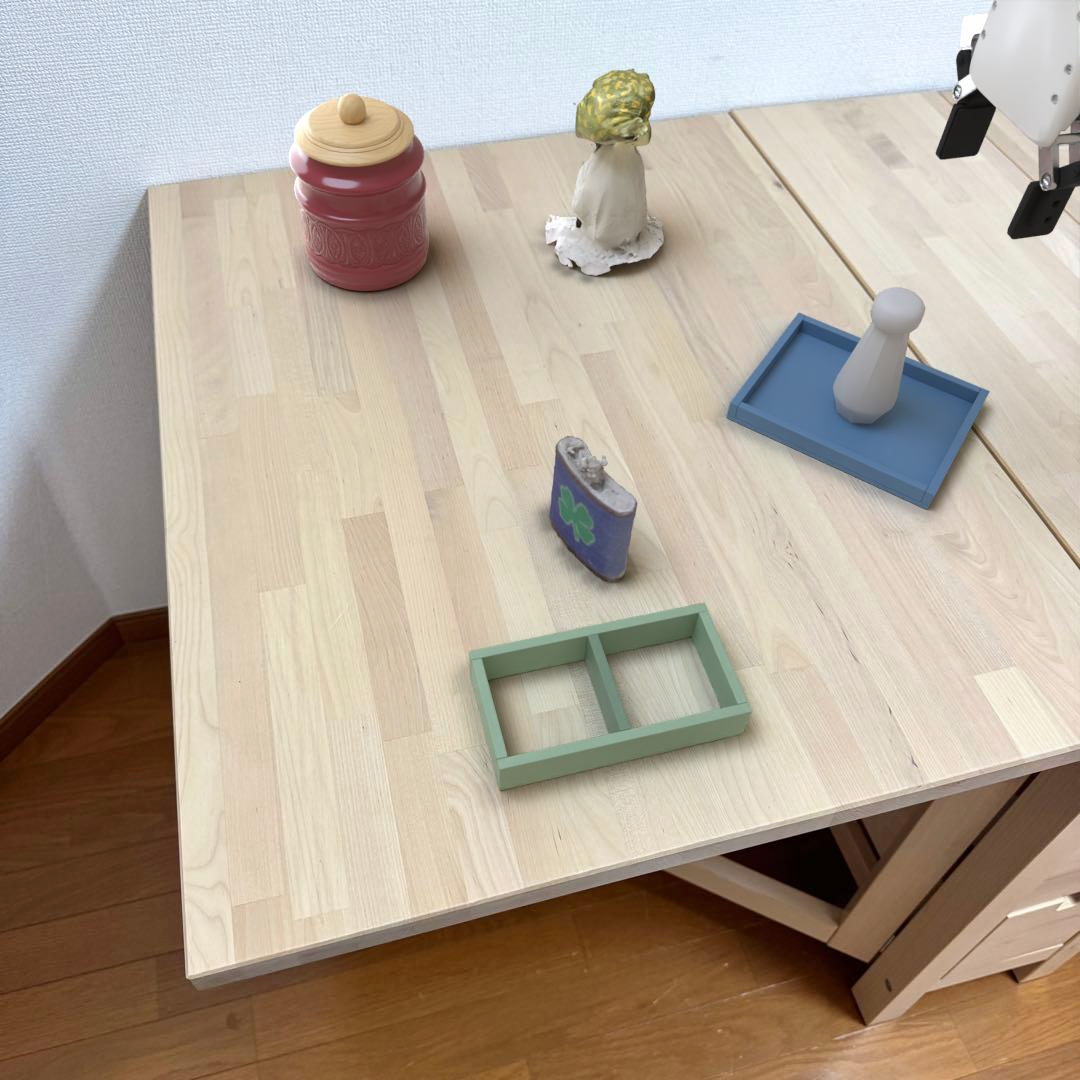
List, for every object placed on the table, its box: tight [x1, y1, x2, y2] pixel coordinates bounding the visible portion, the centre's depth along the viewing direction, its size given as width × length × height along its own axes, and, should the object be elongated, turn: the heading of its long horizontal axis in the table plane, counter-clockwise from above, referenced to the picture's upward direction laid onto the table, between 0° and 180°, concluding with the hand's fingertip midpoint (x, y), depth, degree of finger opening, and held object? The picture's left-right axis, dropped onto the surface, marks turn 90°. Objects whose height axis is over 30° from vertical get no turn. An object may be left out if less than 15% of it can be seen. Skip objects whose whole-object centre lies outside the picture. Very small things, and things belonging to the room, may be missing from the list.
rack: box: [468, 601, 753, 791], centre depth 73 cm, size 18×10×4 cm, turn 105°
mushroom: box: [545, 68, 665, 277], centre depth 102 cm, size 12×13×18 cm
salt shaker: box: [833, 286, 926, 424], centre depth 89 cm, size 6×6×13 cm
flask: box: [548, 435, 638, 583], centre depth 79 cm, size 9×3×11 cm, turn 34°
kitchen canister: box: [288, 92, 430, 292], centre depth 99 cm, size 13×13×18 cm
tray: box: [726, 312, 991, 511], centre depth 94 cm, size 20×16×2 cm
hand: (990, 193), depth 70 cm, fingers open, 9 cm apart
